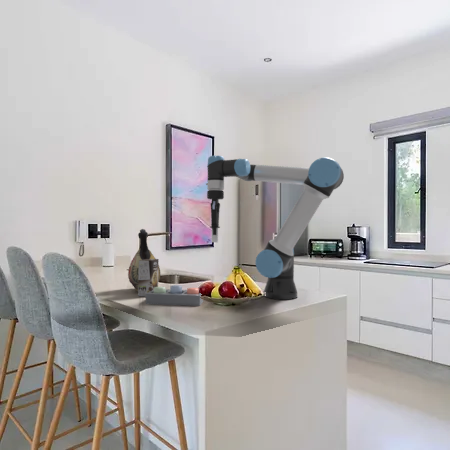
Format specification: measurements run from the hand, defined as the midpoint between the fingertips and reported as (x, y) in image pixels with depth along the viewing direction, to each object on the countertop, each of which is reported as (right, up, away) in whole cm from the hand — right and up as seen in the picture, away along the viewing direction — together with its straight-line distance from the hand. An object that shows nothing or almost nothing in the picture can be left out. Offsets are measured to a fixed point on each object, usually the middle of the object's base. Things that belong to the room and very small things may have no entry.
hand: (214, 242), depth 161 cm
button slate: (-16, -22, -14) cm, 30 cm away
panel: (-16, -24, -14) cm, 32 cm away
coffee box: (-30, -24, +1) cm, 39 cm away
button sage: (-23, -22, -13) cm, 34 cm away
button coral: (-9, -23, -14) cm, 28 cm away
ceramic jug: (-35, -24, +11) cm, 44 cm away
